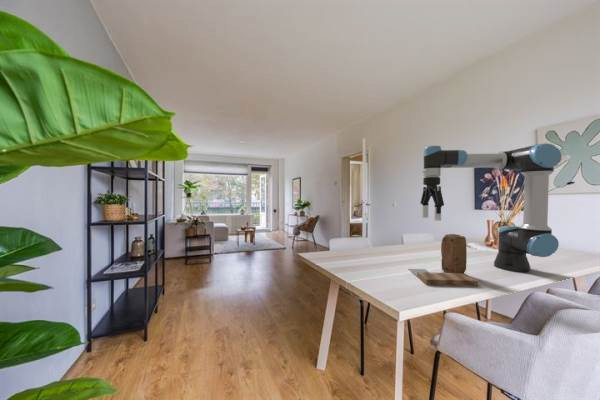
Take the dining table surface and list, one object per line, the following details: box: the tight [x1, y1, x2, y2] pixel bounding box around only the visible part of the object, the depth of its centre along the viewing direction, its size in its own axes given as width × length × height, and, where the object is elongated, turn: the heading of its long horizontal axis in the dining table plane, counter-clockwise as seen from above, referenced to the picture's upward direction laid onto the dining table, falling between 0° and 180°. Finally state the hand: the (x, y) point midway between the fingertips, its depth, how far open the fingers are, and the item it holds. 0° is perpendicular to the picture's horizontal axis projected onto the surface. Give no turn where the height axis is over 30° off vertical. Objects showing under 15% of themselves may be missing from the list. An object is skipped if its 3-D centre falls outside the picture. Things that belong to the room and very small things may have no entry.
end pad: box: [407, 268, 429, 278], centre depth 125 cm, size 9×12×1 cm
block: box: [440, 233, 468, 273], centre depth 124 cm, size 11×8×20 cm
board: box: [417, 271, 479, 287], centre depth 113 cm, size 22×10×3 cm, turn 86°
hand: (431, 219), depth 124 cm, fingers open, 13 cm apart
